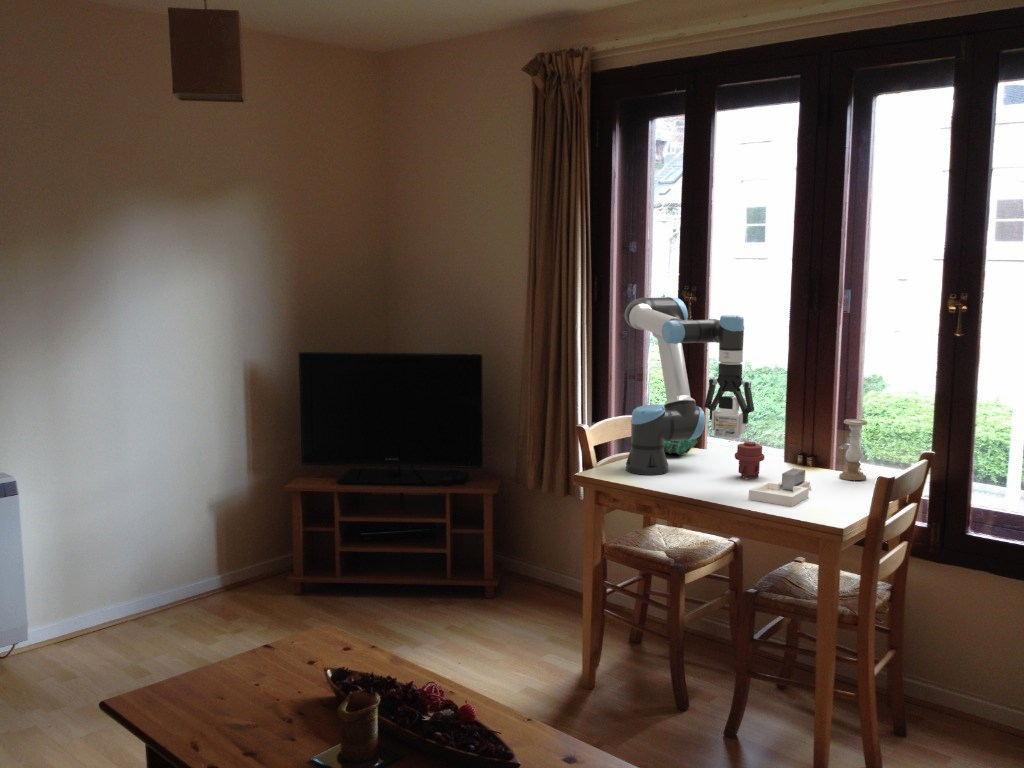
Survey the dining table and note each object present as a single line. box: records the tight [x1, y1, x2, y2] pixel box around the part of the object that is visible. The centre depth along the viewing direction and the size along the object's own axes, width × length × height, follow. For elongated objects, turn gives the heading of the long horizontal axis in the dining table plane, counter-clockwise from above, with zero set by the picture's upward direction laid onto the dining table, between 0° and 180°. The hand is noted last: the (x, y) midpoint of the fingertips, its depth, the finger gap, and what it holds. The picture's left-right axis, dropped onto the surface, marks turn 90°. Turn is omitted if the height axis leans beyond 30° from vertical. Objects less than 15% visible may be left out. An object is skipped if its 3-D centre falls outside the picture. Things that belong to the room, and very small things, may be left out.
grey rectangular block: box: [781, 467, 806, 490], centre depth 290 cm, size 4×10×5 cm, turn 142°
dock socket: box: [748, 480, 812, 507], centre depth 285 cm, size 14×25×3 cm, turn 142°
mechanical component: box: [734, 441, 765, 480], centre depth 308 cm, size 12×10×10 cm
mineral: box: [664, 438, 698, 457], centre depth 347 cm, size 18×16×10 cm
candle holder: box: [839, 418, 868, 482], centre depth 306 cm, size 9×9×20 cm
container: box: [713, 395, 742, 440], centre depth 289 cm, size 8×8×13 cm
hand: (728, 431), depth 289 cm, fingers closed on container, 9 cm apart
